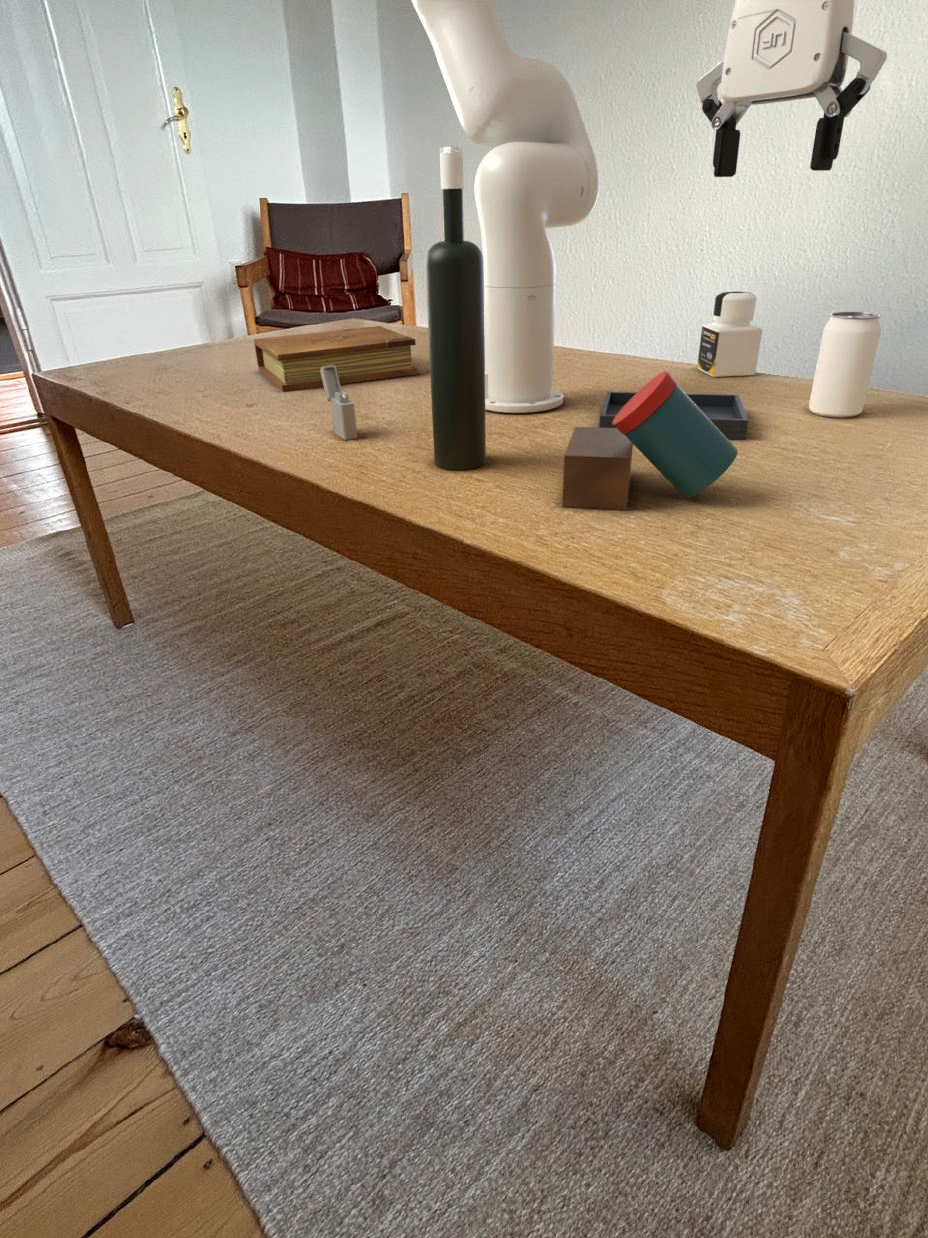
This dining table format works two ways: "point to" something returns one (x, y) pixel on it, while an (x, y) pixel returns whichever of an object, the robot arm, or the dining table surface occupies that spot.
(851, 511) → the dining table surface
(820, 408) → the can
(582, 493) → the block
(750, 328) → the medicine bottle
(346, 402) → the lighter
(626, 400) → the tray
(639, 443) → the container
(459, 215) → the wine bottle
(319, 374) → the diary
